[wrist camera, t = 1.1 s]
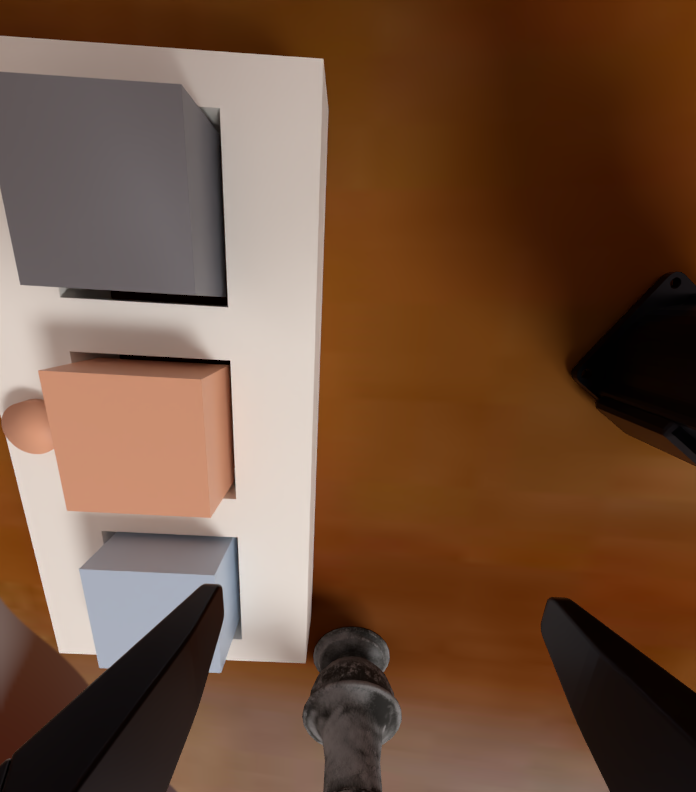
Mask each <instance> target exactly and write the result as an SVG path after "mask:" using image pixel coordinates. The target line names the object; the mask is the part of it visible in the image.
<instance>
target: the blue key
mask: <svg viewBox="0 0 696 792" xmlns="http://www.w3.org/2000/svg"><path fill="white" fill-rule="evenodd" d="M79 572H80V577H81V582H82V586H83V591H84V596H85V601H86V606H87V611H88V615H89V620H90V625H91V630H92V635H93V640H94V644H95V649H96V654H97V659H98V664H99V668H109V667H110V666H112V665H113V664H114V663H115V662H116V661H117V660H118V659H119V658H120V657H122V656H123V655H124V654H125V653H126V652H127V651H128V650H129V649H130V648H132V647H133V646H134V645H135V644H136V643H137V642H138V641H139V640H141V639H142V638H143V637H144V636H145V635H146V634H147V633H148V632H149V631H151V630H152V629H153V628H154V627H155V626H156V625H157V624H158V623H159V622H161V621H162V620H163V619H164V618H165V617H166V616H167V615H168V614H169V613H171V612H172V611H173V610H174V609H175V608H176V607H177V606H178V605H180V604H181V603H182V602H183V601H184V600H185V599H186V598H187V597H188V596H190V595H191V594H192V593H193V592H194V591H195V590H196V589H197V588H198V587H200V586H201V585H203V584H220V585H221V586H222V589H223V601H224V620H223V624H222V628H221V631H220V635H219V638H218V642H217V645H216V649H215V652H214V656H213V659H212V662H211V666H210V669H209V672H210V673H221V672H222V669H223V666H224V663H225V660H226V657H227V654H228V651H229V648H230V646H231V643H232V640H233V637H234V634H235V631H236V628H237V625H238V622H239V619H240V599H239V575H238V552H237V537H219V536H198V535H177V534H156V533H135V532H116V533H115V534H114V535H113V536H112V537H111V538H110V539H109V540H108V541H107V542H106V543H105V544H104V545H103V546H102V547H101V548H100V549H99V550H98V551H97V552H96V553H95V554H94V555H93V556H92V557H91V558H90V559H89V560H88V561H87V562H86V563H85V564H84V565H83V566H82V567H81V568H80V569H79Z"/></svg>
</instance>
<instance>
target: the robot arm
mask: <svg viewBox="0 0 696 792" xmlns="http://www.w3.org/2000/svg"><path fill="white" fill-rule="evenodd" d="M672 280H673V285H672V286H670V282H671V281H672ZM585 369H586V374H585V375H584V376H583V377H582V376H581V375H582V372H583V371H584V370H585ZM571 375H572V378H573V379H574V380H575V381H576V382H577V383H578V384H579V385H580V386H582V387H583V388H584V389H585V390H586V391H587V392H588V393H590V394H591V395H592V396H593V397H594V398H595V399H597V401H596V402H595V405H596V408H597V409H598V410H599V411H600V412H601V413H602V414H604V415H605V416H606V417H607V418H608V419H609V420H611V421H612V422H613V423H614V424H615V425H616V426H617V427H619V428H620V429H621V430H622V431H623V432H624V433H626V434H628V435H630V436H632V437H634V438H636V439H639V440H641V441H643V442H645V443H647V444H649V445H651V446H654V447H656V448H658V449H660V450H662V451H664V452H666V453H669V454H671V455H673V456H675V457H677V458H679V459H681V460H684V461H686V462H688V463H690V464H692V465H694V466H696V285H695V284H694V283H693V282H692V281H691V280H690V279H689V278H688V277H687V276H686V275H685V274H683V273H682V272H670V273H666V274H664V275H663V276H662V277H660V279H659V280H658V281H657V282H656V283H655V284H654V285H653V286H652V287H651V288H650V289H649V290H648V291H647V292H646V293H645V294H644V295H643V296H642V297H641V298H640V299H639V300H638V301H637V302H636V303H635V304H634V305H633V307H632V308H631V309H630V310H629V311H628V312H627V313H626V314H625V315H624V316H623V317H622V318H621V319H620V320H619V321H618V322H617V323H616V324H615V325H614V326H613V327H612V328H611V329H610V330H609V331H608V332H607V333H606V335H605V336H604V337H603V338H602V339H601V340H600V341H599V342H598V343H597V344H596V345H595V346H594V347H593V348H592V349H591V350H590V351H589V352H588V353H587V354H586V355H585V356H584V357H583V358H582V359H581V360H580V362H579V363H578V364H577V365H576V366H575V367H574V368H573V370H572V373H571ZM223 620H224V601H223V589H222V586H221V585H220V584H203V585H201V586H200V587H198V588H197V589H196V590H195V591H194V592H193V593H192V594H191V595H190V596H188V597H187V598H186V599H185V600H184V601H183V602H182V603H181V604H180V605H178V606H177V607H176V608H175V609H174V610H173V611H172V612H171V613H169V614H168V615H167V616H166V617H165V618H164V619H163V620H162V621H161V622H159V623H158V624H157V625H156V626H155V627H154V628H153V629H152V630H151V631H149V632H148V633H147V634H146V635H145V636H144V637H143V638H142V639H141V640H139V641H138V642H137V643H136V644H135V645H134V646H133V647H132V648H130V649H129V650H128V651H127V652H126V653H125V654H124V655H123V656H122V657H120V658H119V659H118V660H117V661H116V662H115V663H114V664H113V665H112V666H110V667H109V668H108V669H107V670H106V671H105V672H104V673H103V674H102V675H100V676H99V677H98V678H97V679H96V680H95V681H94V682H93V683H91V684H90V685H89V686H88V687H87V688H86V689H85V690H84V691H83V692H81V693H80V694H79V695H78V696H77V697H76V698H75V699H74V700H73V701H71V702H70V703H69V704H68V705H67V706H66V707H65V708H64V709H63V710H61V711H60V712H59V713H58V714H57V715H56V716H55V717H54V718H53V719H51V720H50V721H49V722H48V723H47V724H46V725H45V726H44V727H43V728H41V729H40V730H39V731H38V732H37V733H36V734H35V735H34V736H32V738H30V739H29V740H28V741H27V742H26V743H25V744H24V745H22V746H21V747H20V748H19V749H18V750H17V751H16V752H15V753H14V754H13V756H12V759H7V760H5V761H4V762H3V763H2V764H1V765H0V792H166V791H167V789H168V786H169V783H170V781H171V778H172V775H173V773H174V770H175V768H176V765H177V762H178V760H179V757H180V755H181V752H182V749H183V747H184V744H185V742H186V739H187V736H188V734H189V731H190V729H191V726H192V723H193V721H194V718H195V715H196V712H197V710H198V707H199V703H200V700H201V697H202V694H203V690H204V687H205V683H206V680H207V676H208V673H209V669H210V666H211V662H212V659H213V656H214V652H215V649H216V645H217V642H218V638H219V635H220V631H221V628H222V624H223ZM541 632H542V636H543V639H544V641H545V644H546V646H547V649H548V652H549V654H550V657H551V659H552V662H553V664H554V667H555V669H556V672H557V674H558V677H559V680H560V682H561V685H562V687H563V690H564V692H565V695H566V697H567V700H568V702H569V705H570V707H571V710H572V712H573V715H574V717H575V719H576V722H577V724H578V726H579V728H580V730H581V732H582V735H583V737H584V739H585V741H586V743H587V745H588V747H589V749H590V751H591V753H592V755H593V757H594V759H595V762H596V764H597V766H598V768H599V770H600V772H601V774H602V776H603V778H604V780H605V782H606V784H607V786H608V788H609V791H610V792H696V693H695V692H694V691H692V690H691V689H690V688H688V687H687V686H686V685H684V684H683V683H682V682H680V681H679V680H678V679H676V678H675V677H674V676H672V675H671V674H670V673H668V672H667V671H666V670H664V669H663V668H662V667H660V666H659V665H658V664H656V663H655V662H654V661H652V660H651V659H650V658H648V657H647V656H646V655H644V654H643V653H642V652H640V651H639V650H638V649H636V648H635V647H634V646H632V645H631V644H630V643H628V642H627V641H626V640H624V639H623V638H622V637H620V636H619V635H618V634H616V633H615V632H614V631H612V630H611V629H609V628H608V627H607V626H605V625H604V624H603V623H601V622H600V621H599V620H597V619H596V618H595V617H593V616H592V615H591V614H589V613H588V612H587V611H585V610H584V609H583V608H581V607H580V606H579V605H577V604H576V603H575V602H573V601H572V600H570V599H568V598H561V597H551V598H549V599H548V600H547V603H546V606H545V610H544V614H543V617H542V621H541Z"/></svg>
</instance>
